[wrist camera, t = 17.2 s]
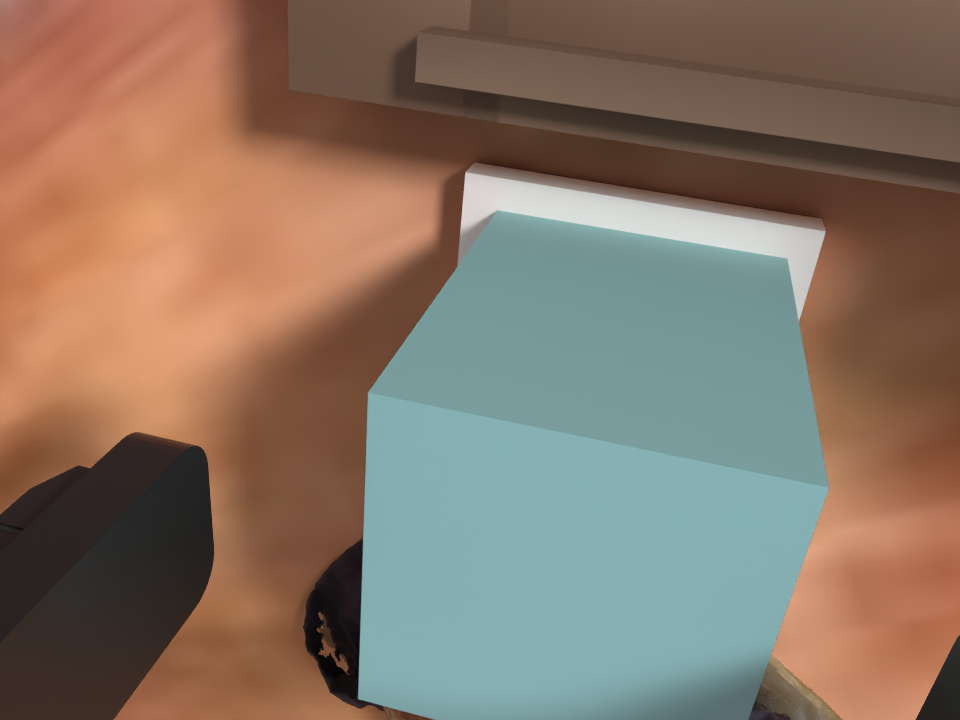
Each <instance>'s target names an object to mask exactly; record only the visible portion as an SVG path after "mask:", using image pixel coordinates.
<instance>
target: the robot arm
mask: <svg viewBox="0 0 960 720" xmlns="http://www.w3.org/2000/svg"><path fill="white" fill-rule="evenodd" d="M213 560H214V542H213V528H212V514H211V500H210V486H209V472H208V462H207V457H206V454H205V452H204V450H203V449H202V448H201V447H199V446H195V445H191V444H187V443H183V442H178V441H174V440H170V439H165V438H161V437H157V436H152V435H148V434H144V433H138V432H135V433H131V434H129V435H127V436H126V437H125V438H123V439H122V440H121V441H120V442H119V443H118V444H117V445H116V446H114V447H113V448H112V449H111V450H110V451H109V452H108V453H107V454H106V455H105V456H104V457H102V458H101V459H100V460H99V461H98V462H97V463H96V464H95V465H94V466H93V467H92V468H91V469H90V468H86V467H82V466H76V467H74V468H72V469H70V470H68V471H66V472H64V473H62V474H60V475H58V476H56V477H54V478H51V479H49V480H47V481H45V482H43V483H41V484H39V485H37V486H35V487H33V488H31V489H29V490H28V491H27V492H26V493H25V494H24V495H22V496H21V497H20V498H19V499H18V500H17V501H16V502H14V503H13V504H12V505H11V506H10V507H9V508H7V509H6V510H5V511H4V512H3V513H2V514H1V515H0V720H113V719H114V718H115V717H116V715H117V714H118V713H119V711H120V710H121V708H122V707H123V706H124V704H125V703H126V702H127V700H128V699H129V698H130V696H131V695H132V693H133V692H134V691H135V689H136V688H137V687H138V685H139V684H140V683H141V681H142V680H143V678H144V677H145V676H146V674H147V673H148V672H149V670H150V669H151V668H152V666H153V665H154V663H155V662H156V661H157V659H158V658H159V657H160V655H161V654H162V653H163V651H164V650H165V648H166V647H167V646H168V644H169V643H170V642H171V640H172V639H173V638H174V636H175V635H176V633H177V632H178V631H179V629H180V628H181V627H182V625H183V624H184V623H185V621H186V620H187V618H188V617H189V616H190V614H191V613H192V612H193V610H194V609H195V607H196V606H197V604H198V603H199V601H200V599H201V598H202V596H203V593H204V591H205V589H206V587H207V584H208V581H209V578H210V575H211V571H212V566H213ZM916 720H960V636H959V637H958V638H957V640H956V641H955V643H954V645H953V647H952V649H951V651H950V653H949V655H948V657H947V659H946V661H945V663H944V665H943V667H942V669H941V671H940V673H939V675H938V677H937V679H936V681H935V683H934V685H933V687H932V688H931V690H930V692H929V694H928V696H927V698H926V700H925V702H924V704H923V706H922V708H921V710H920V712H919V714H918V716H917V718H916Z"/></svg>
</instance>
